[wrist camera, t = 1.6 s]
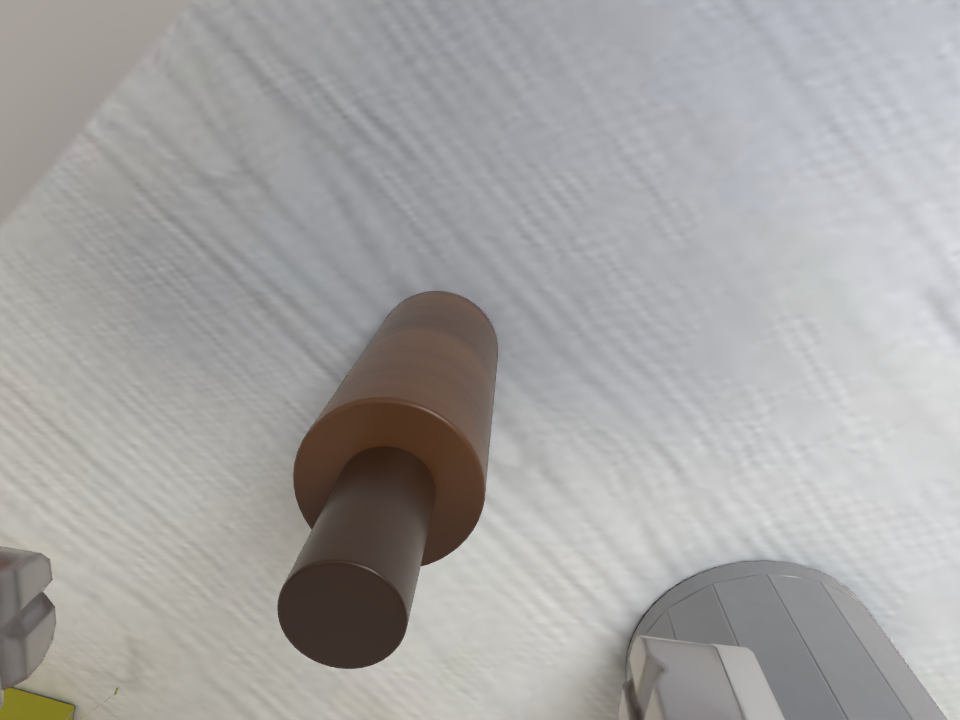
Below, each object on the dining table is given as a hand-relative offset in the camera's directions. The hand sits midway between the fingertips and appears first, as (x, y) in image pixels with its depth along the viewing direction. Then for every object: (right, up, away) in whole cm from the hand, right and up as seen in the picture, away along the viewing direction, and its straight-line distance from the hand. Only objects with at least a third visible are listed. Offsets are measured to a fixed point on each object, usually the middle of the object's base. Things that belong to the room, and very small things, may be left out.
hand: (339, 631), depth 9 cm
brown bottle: (+1, +4, +11) cm, 12 cm away
